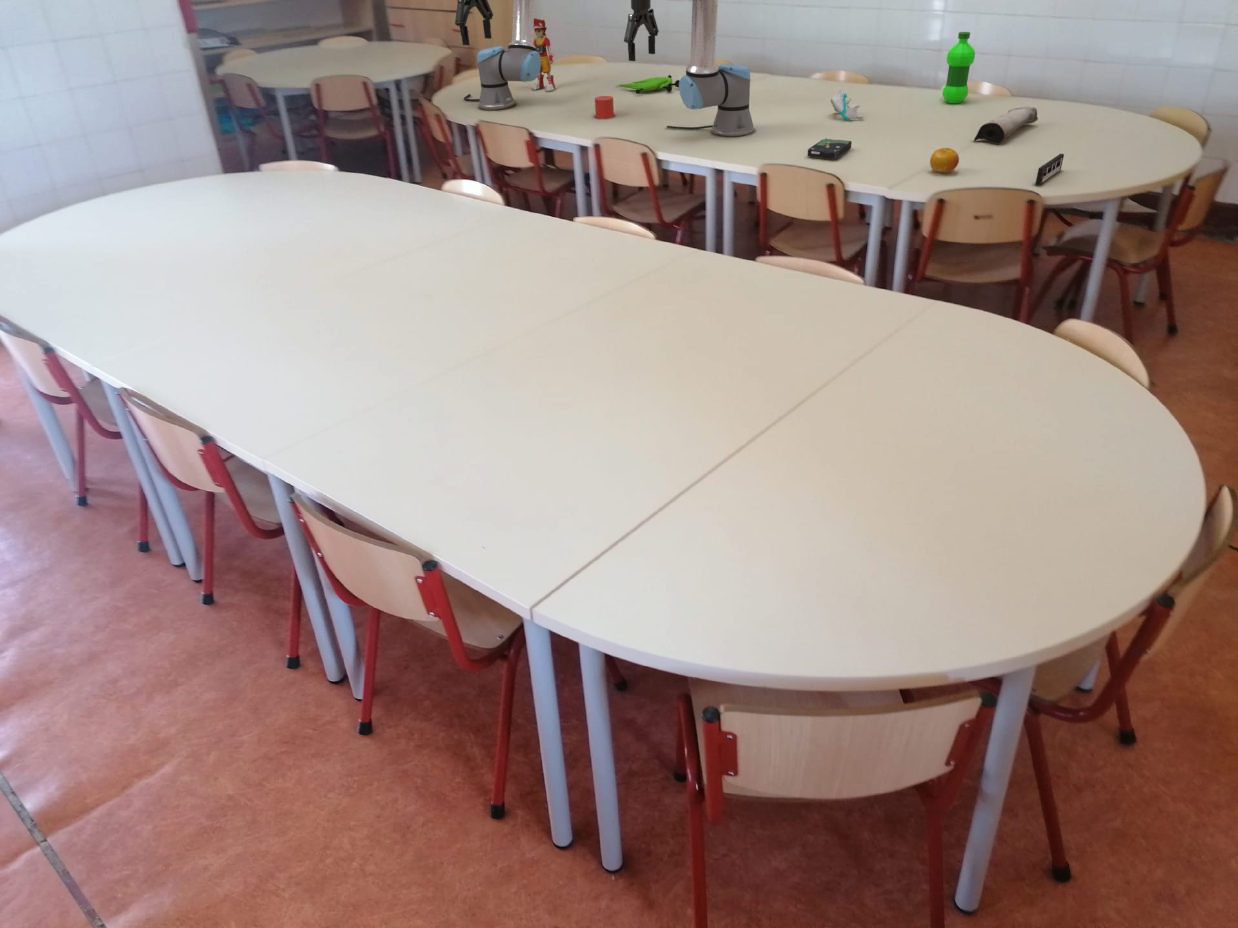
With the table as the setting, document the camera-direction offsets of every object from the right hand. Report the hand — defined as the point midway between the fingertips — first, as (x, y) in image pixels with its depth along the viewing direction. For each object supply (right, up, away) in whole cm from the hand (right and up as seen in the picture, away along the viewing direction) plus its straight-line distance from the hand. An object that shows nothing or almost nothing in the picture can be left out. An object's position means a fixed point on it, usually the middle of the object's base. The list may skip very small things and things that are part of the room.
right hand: (642, 57), depth 354 cm
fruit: (+94, -68, -69) cm, 135 cm away
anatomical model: (+78, -27, -9) cm, 83 cm away
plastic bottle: (+124, -18, +1) cm, 125 cm away
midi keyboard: (+123, -73, -80) cm, 164 cm away
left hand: (-63, 0, -12) cm, 64 cm away
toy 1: (-44, +11, +58) cm, 73 cm away
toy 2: (+2, +8, +48) cm, 49 cm away
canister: (-15, -19, +11) cm, 27 cm away
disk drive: (+63, -54, -47) cm, 96 cm away
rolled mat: (+128, -44, -38) cm, 140 cm away
